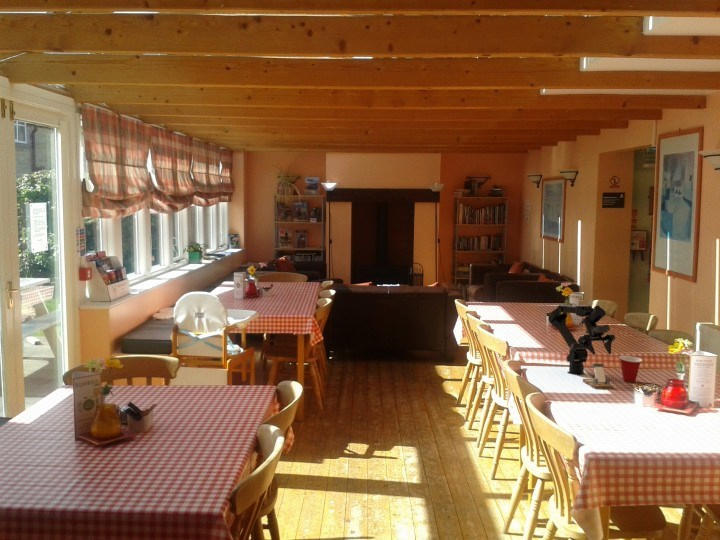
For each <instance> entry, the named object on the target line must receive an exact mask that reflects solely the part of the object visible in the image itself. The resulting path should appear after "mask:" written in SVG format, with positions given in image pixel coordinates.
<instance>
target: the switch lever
mask: <svg viewBox="0 0 720 540" xmlns="http://www.w3.org/2000/svg"><path fill="white" fill-rule="evenodd" d="M592 368H593V371H594V376H595V377H594V378H597V379H598V383H606V380H605V378H606V376H605V371H604V363H592Z"/></svg>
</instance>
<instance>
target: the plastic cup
mask: <svg viewBox="0 0 720 540" xmlns="http://www.w3.org/2000/svg"><path fill="white" fill-rule="evenodd" d="M618 358H619V360H620V367H621V374H622V381H623V380H624V381H623V382H625V381H626V383H636V380H637V376H638V373H639V369H640V366H641V363H642V362H643V359H642V358H640V357H636V356H630V355H620V356H619V357H618Z"/></svg>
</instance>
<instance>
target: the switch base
mask: <svg viewBox="0 0 720 540" xmlns="http://www.w3.org/2000/svg"><path fill="white" fill-rule="evenodd" d="M605 380H606V383H598V379H597V378H596V377H593V378H582V383H584V384H586V385H587V386H589V387H591V388H592V389H595V390H598V389H599V390H614V385H612V384H611V379H610V378H608V377H605Z"/></svg>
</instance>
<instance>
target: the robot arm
mask: <svg viewBox="0 0 720 540" xmlns="http://www.w3.org/2000/svg"><path fill="white" fill-rule="evenodd" d="M568 314H575V315H576V316H578V317H580V318H582V317H583V318H582V320H581V322H580V324H581V325H584V327H585V329H586V331H585V334H582V335H581V336H579V338H578V339H577V340H576V338H575V337H574V335H573V333H572V332H571V330H570V328H569V327H568V326H567V318H568ZM606 314H607V313H606V310H605V309H603V308H602V307H600V305H595V306H594V307H592V305H588V304H587V305H577V306H576V305H569V304H558V306H557V307H556V308H554V310H552V311H551V312H550V314H549V315H548V322H549V323H550V325H551V326H552V327H554V328H556V329H557V330H558V332H559V333H560V335H561V336H562V338H563V339H564V341H565V342H566V344H567V346H568V348H569V349H568V353H569V354H568V355H567V356H566V361H567V362H568V363H569V368H568V371H567V374H571V373H572V374H573V375H576V374H577V376H578V375H583V374H582V373H584V374H585V372H584V370H585V369H584V368H585V366H584V363H586V362H587V359H588V357H589V354H588V353H589V352H590V353H591V354H592V355H596V351H595V348H594V347H593V344H592V343H593V342H602V344H603V346H604V349H605V350H606V352H607V353H608V355H611V354H612V343H613V342H614V341H615V340H616V339H617V338H616V335H615V334H614V333H609V334H605V333H608V332H609V331H610V330H611V328H610V326H609V324H603V325H598V323H599V322H600V321H602V319H604V317H605V316H606ZM604 335H605V336H604ZM588 351H589V352H588Z"/></svg>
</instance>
